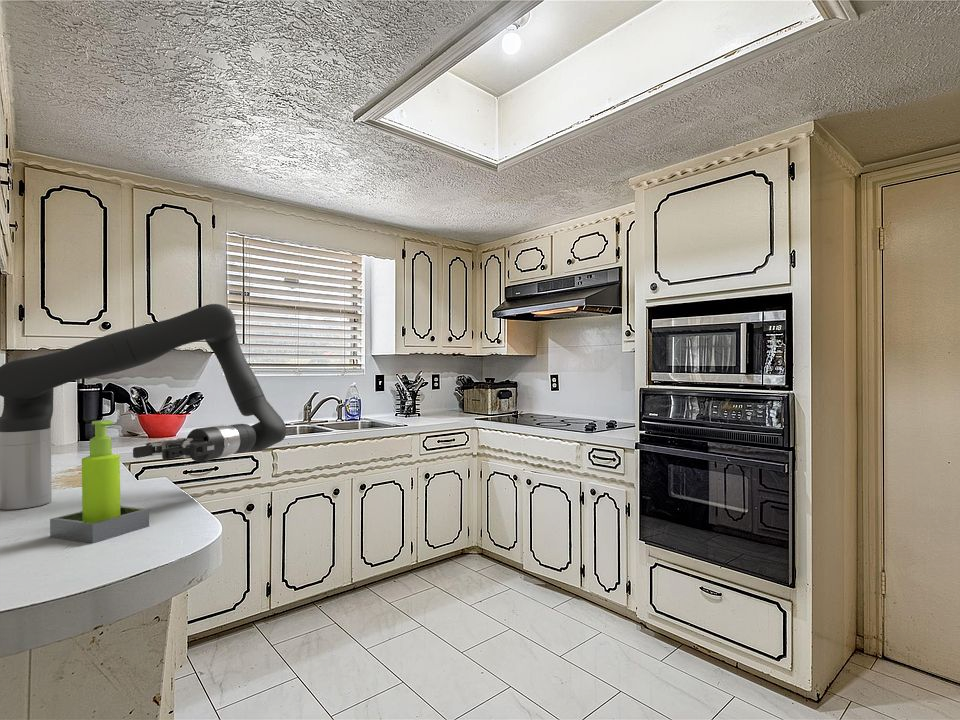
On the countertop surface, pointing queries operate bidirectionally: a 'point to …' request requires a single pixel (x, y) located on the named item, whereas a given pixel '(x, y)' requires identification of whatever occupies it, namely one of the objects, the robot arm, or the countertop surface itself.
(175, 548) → the countertop surface
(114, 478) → the soap dispenser
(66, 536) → the metal tray
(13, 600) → the countertop surface
